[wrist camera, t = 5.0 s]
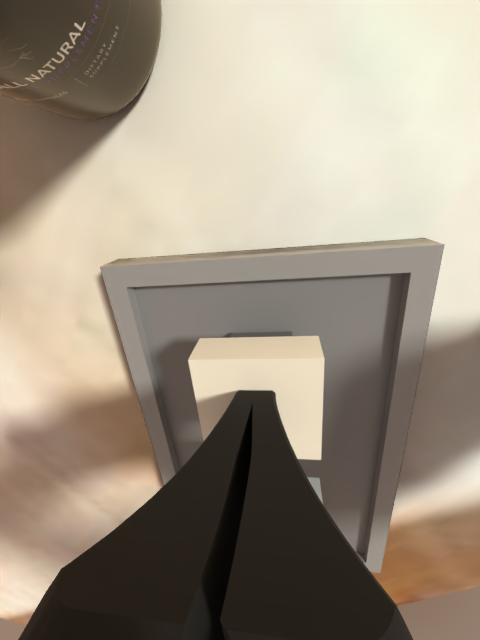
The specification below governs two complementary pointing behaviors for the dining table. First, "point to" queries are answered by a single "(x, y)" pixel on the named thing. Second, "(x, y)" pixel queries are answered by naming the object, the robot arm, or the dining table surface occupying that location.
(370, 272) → the grey rectangular tray
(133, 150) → the dining table surface
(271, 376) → the cream square block
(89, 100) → the supplement bottle
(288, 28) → the dining table surface
